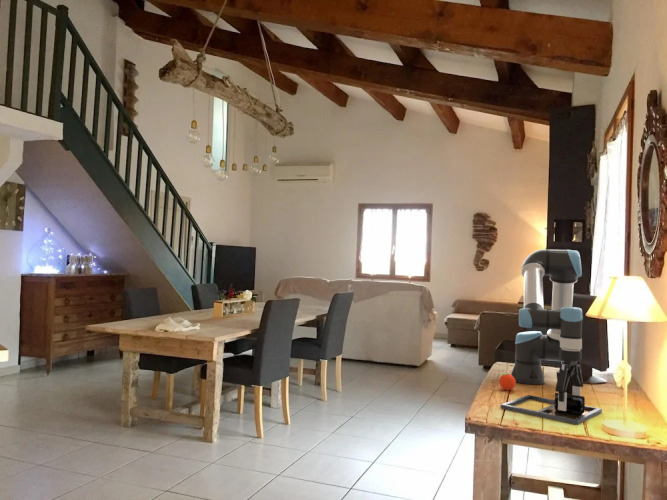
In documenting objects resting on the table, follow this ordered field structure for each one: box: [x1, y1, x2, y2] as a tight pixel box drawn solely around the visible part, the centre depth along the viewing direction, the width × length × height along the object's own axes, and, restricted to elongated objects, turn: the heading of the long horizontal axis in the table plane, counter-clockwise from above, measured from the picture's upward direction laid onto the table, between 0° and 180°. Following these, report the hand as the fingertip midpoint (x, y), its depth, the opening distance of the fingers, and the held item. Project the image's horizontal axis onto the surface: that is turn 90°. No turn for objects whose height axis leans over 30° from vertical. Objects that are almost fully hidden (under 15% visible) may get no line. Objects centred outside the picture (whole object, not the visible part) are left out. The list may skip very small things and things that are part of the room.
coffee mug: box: [556, 369, 574, 395], centre depth 237 cm, size 12×9×10 cm
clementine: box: [498, 373, 517, 391], centre depth 247 cm, size 8×7×7 cm
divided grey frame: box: [500, 394, 603, 426], centre depth 213 cm, size 24×28×2 cm
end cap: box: [554, 392, 586, 417], centre depth 209 cm, size 10×7×7 cm
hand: (569, 407), depth 209 cm, fingers open, 13 cm apart
